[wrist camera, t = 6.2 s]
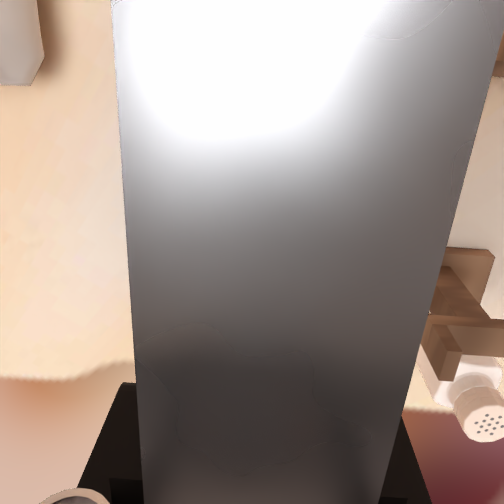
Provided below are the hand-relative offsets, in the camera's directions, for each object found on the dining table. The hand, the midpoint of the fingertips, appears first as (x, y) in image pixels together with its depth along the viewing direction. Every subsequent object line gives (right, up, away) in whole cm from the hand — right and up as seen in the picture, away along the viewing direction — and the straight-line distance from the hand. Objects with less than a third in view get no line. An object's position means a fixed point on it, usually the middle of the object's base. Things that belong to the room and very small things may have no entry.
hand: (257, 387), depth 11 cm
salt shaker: (+15, -4, +27) cm, 31 cm away
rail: (0, -1, -1) cm, 1 cm away
